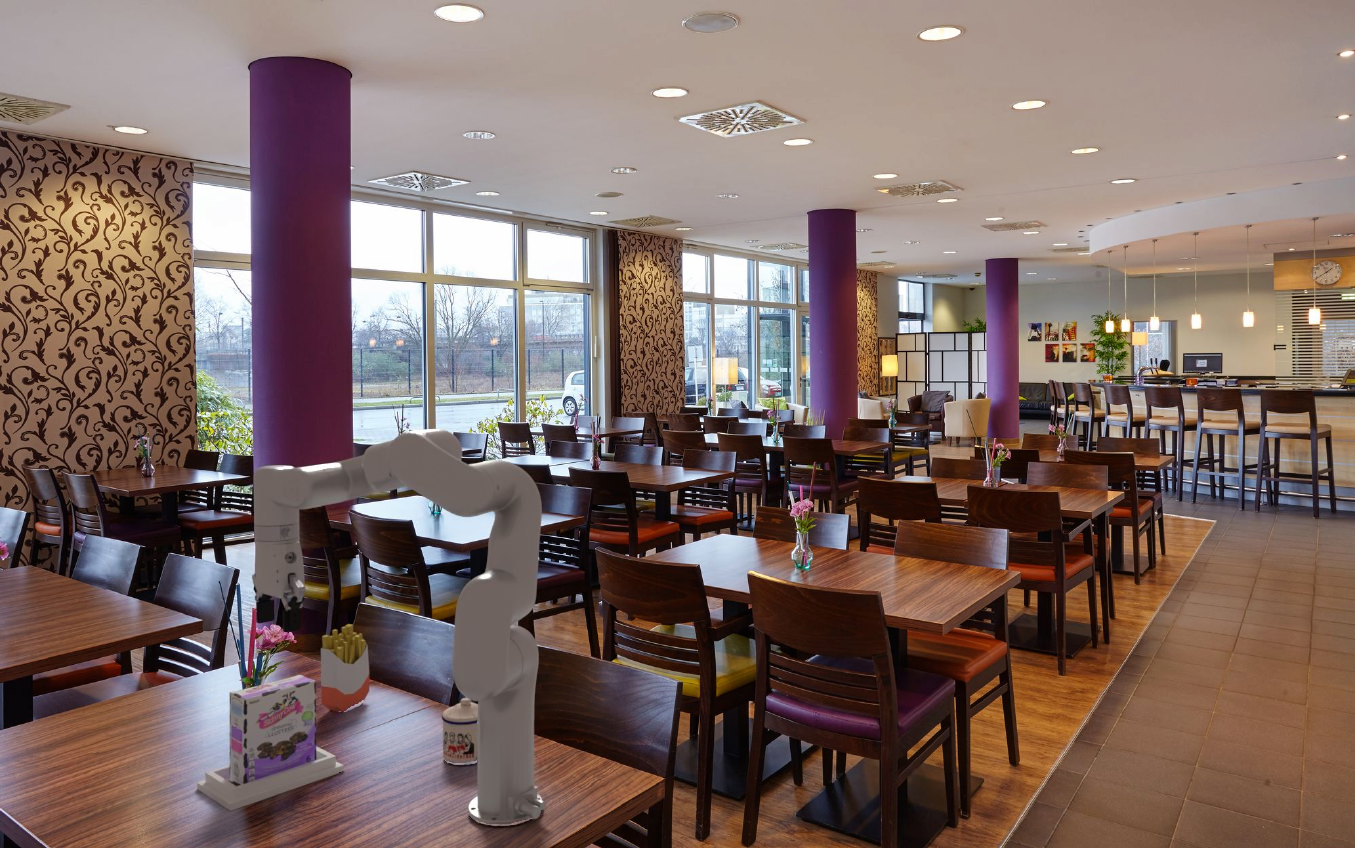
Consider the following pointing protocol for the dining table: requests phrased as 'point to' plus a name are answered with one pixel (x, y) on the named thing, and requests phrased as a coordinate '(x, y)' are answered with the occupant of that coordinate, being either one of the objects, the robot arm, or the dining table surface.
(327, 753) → the grey rectangular tray
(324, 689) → the french fries container
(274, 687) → the candy box
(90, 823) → the dining table surface
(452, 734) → the teacup with lid
